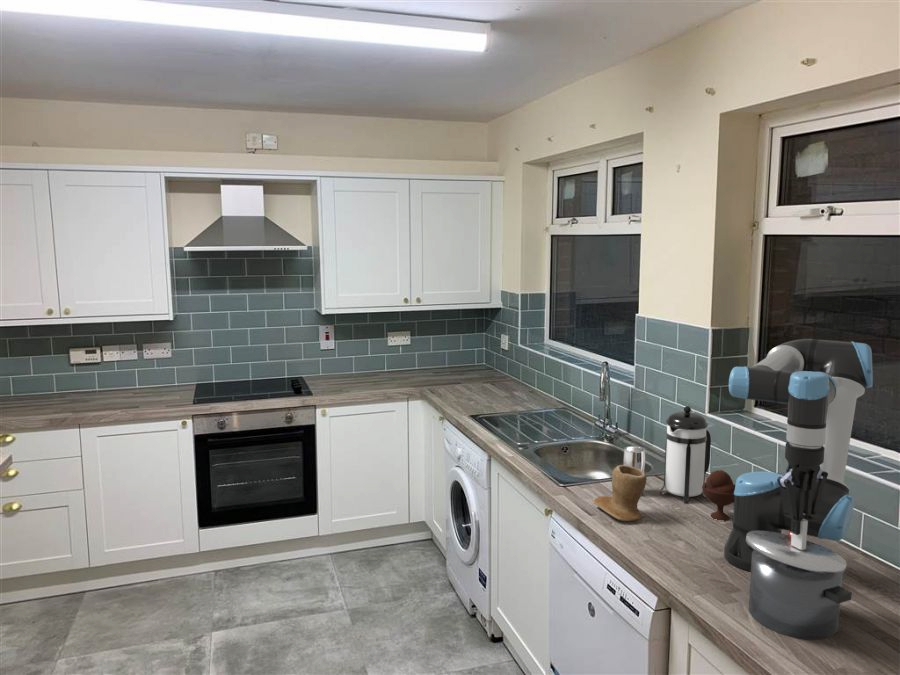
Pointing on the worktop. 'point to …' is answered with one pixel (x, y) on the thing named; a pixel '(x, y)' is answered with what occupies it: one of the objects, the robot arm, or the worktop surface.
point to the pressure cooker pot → (794, 598)
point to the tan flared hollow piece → (624, 494)
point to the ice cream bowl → (719, 492)
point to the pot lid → (796, 552)
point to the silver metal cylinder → (634, 457)
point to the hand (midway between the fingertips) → (798, 546)
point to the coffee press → (686, 454)
